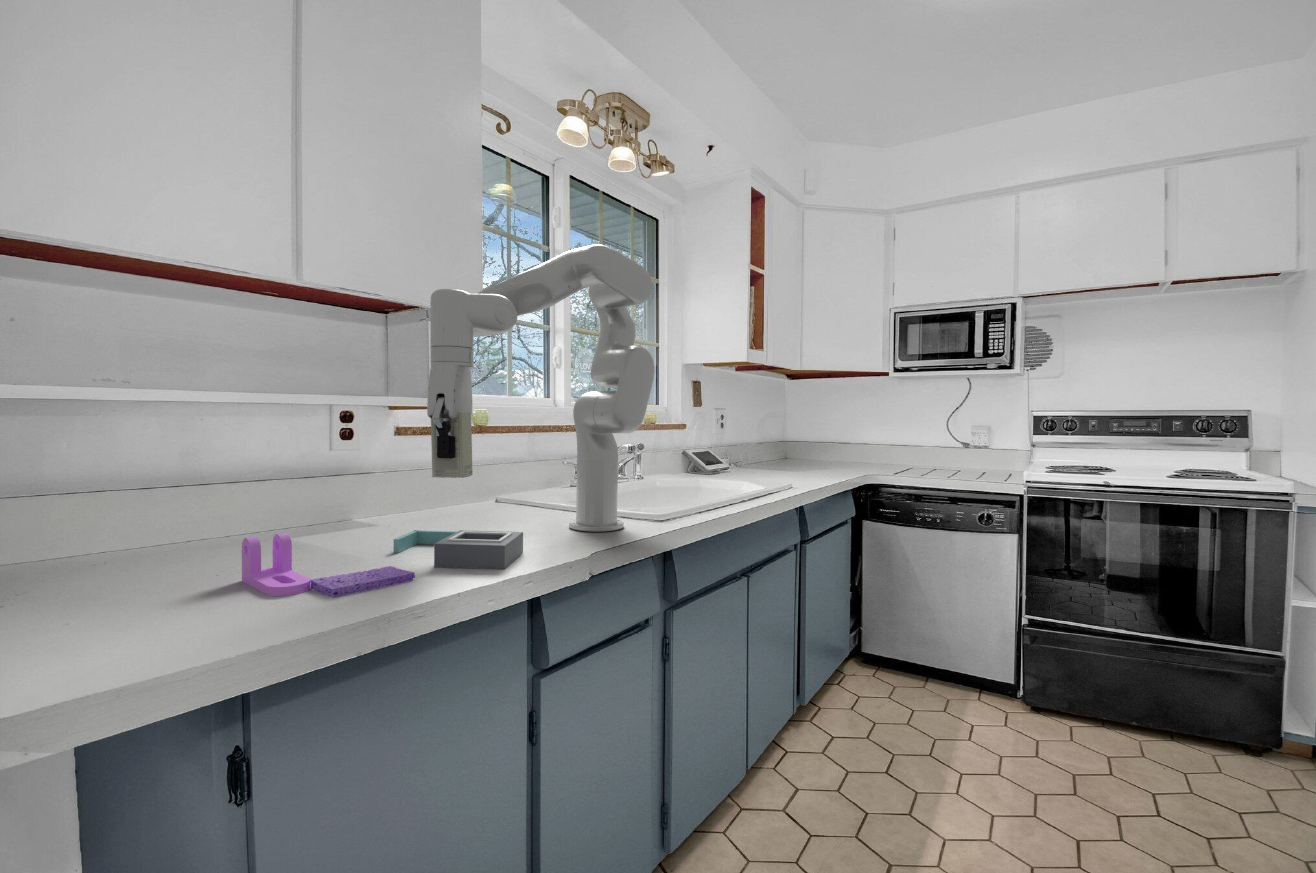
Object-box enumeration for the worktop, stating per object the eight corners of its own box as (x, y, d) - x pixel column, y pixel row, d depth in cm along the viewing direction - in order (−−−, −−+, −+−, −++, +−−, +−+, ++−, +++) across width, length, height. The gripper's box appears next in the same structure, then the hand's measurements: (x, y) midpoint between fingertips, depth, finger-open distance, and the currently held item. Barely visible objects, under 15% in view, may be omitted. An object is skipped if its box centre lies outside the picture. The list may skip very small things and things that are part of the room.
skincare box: (473, 476, 115) (473, 411, 115) (462, 478, 111) (462, 411, 110) (441, 475, 116) (441, 411, 116) (429, 477, 112) (429, 411, 111)
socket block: (459, 551, 115) (460, 528, 115) (523, 553, 114) (523, 530, 114) (434, 567, 103) (434, 541, 103) (504, 569, 102) (504, 543, 102)
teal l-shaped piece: (414, 542, 122) (414, 530, 122) (469, 544, 121) (469, 531, 121) (393, 552, 113) (393, 539, 113) (452, 554, 112) (452, 540, 112)
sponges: (310, 592, 89) (309, 579, 89) (392, 575, 99) (392, 564, 99) (332, 601, 85) (332, 588, 85) (415, 583, 95) (415, 571, 95)
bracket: (241, 581, 93) (241, 536, 92) (282, 575, 97) (282, 531, 97) (274, 599, 84) (274, 549, 84) (316, 591, 89) (317, 543, 88)
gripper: (451, 361, 121) (451, 453, 122) (410, 353, 104) (410, 460, 105) (488, 362, 121) (487, 454, 121) (453, 354, 104) (453, 461, 105)
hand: (452, 455), depth 113 cm, fingers closed on skincare box, 4 cm apart
